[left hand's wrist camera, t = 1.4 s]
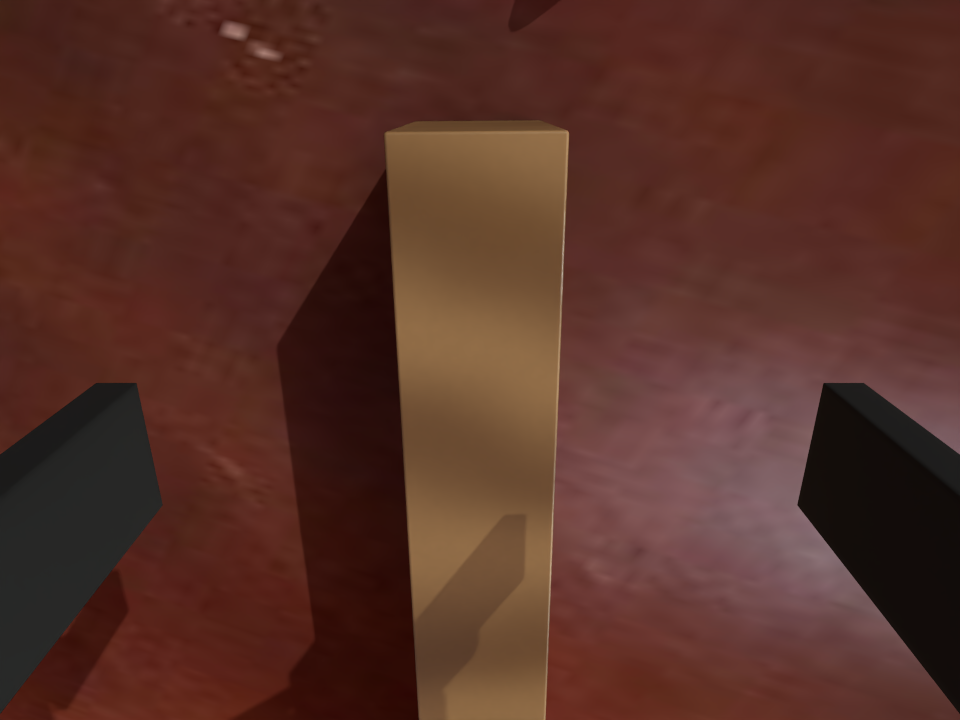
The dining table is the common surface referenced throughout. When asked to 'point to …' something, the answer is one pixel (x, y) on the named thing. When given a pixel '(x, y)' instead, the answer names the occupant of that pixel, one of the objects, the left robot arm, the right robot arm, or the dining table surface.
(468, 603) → the bar
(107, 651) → the dining table surface
